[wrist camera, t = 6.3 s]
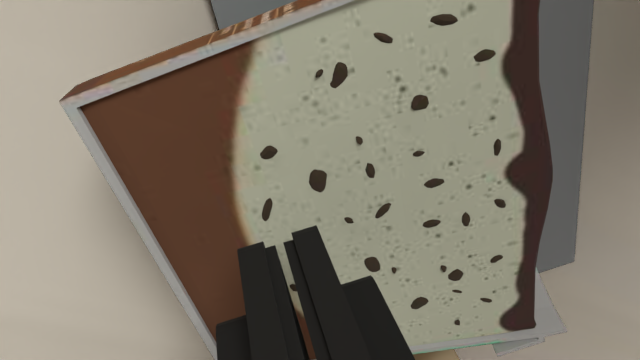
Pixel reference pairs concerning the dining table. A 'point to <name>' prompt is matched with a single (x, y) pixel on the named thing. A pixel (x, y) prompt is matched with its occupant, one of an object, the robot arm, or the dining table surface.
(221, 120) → the food container
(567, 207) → the mat
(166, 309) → the dining table surface
